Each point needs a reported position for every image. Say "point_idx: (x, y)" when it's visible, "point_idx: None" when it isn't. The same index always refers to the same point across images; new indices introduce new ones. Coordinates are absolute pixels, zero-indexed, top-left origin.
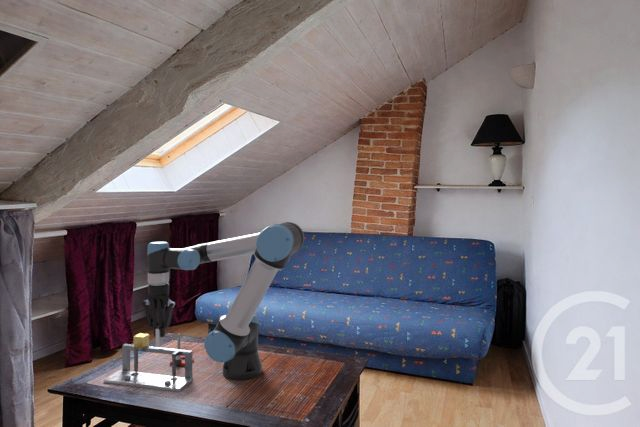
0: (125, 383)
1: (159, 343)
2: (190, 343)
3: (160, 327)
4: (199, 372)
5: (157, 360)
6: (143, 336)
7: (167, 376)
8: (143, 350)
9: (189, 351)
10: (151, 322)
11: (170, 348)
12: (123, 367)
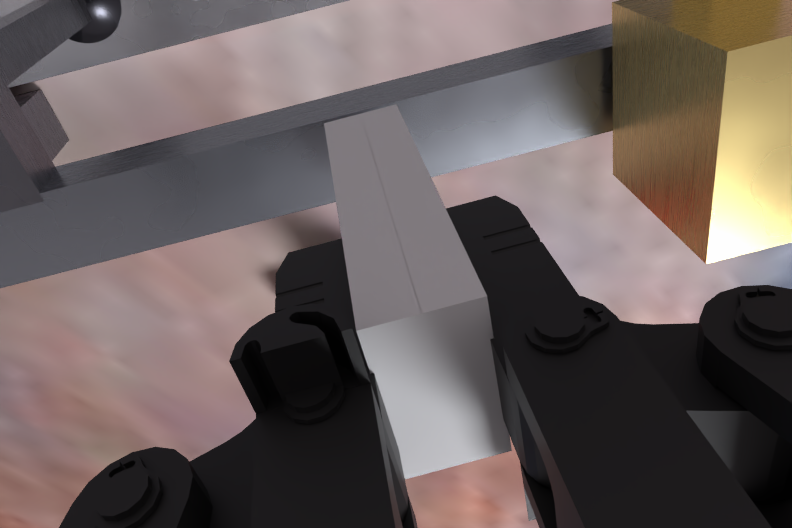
0: None
1: (328, 149)
2: (537, 523)
3: (311, 397)
4: None
5: (576, 260)
6: (751, 110)
7: (195, 16)
8: (606, 30)
9: None
10: (789, 440)
11: (212, 227)
12: None
